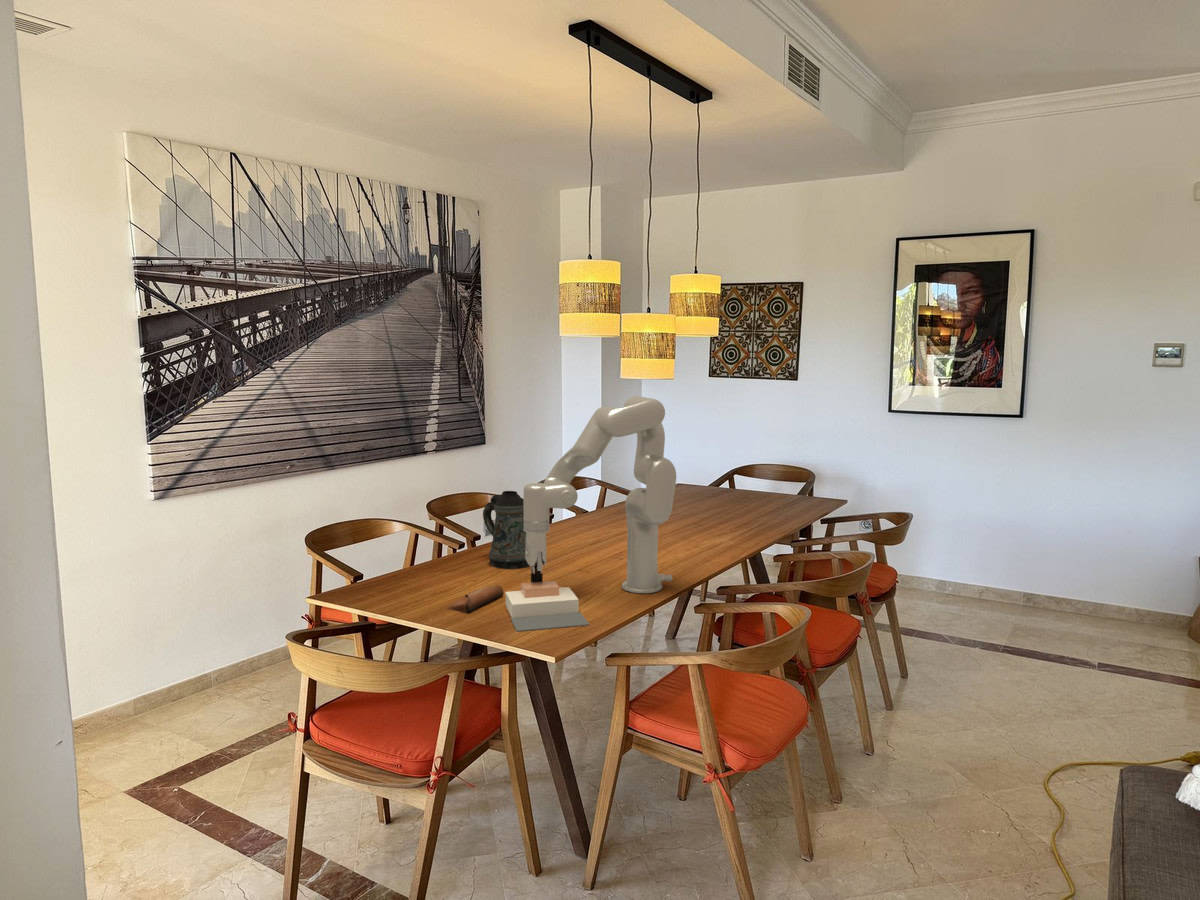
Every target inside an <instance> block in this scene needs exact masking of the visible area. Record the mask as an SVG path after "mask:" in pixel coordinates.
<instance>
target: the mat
mask: <svg viewBox="0 0 1200 900" xmlns="http://www.w3.org/2000/svg"><path fill="white" fill-rule="evenodd" d="M510 621H511V623H512V624H513V626H514V628H515V631H516V632H518V633H519V632H520V633H521V632H529V631H538V630H539V631H541V630H542V631H543V630H550V629H551V630H553V629H562V628H572V627H573V628H574V627H584V626H587V627H588V626H591V625H590V623H589V620H587V618H586V617H585V616H584V615H583V614H582V612H579V611H578V613H567V614H556V615H544V616H532V617H520V618H512V617H511V618H510Z"/></svg>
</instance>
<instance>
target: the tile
mask: <svg viewBox="0 0 1200 900" xmlns="http://www.w3.org/2000/svg"><path fill="white" fill-rule="evenodd" d="M559 588H560V586H559V585H558V583H557V582H556V580H551V581H550V580H549V581H543V582H534V583H531V582H523V583H521V585H520V591H521V592H522V594H523V596H524V597H525V598H531V597H544V596H557V595H559Z"/></svg>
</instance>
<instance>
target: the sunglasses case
mask: <svg viewBox="0 0 1200 900" xmlns="http://www.w3.org/2000/svg"><path fill="white" fill-rule="evenodd" d="M504 592H505V591H504V589H503V587H502V586H500V585H489V586H488V585H487V586H483V587H481V588H479V589H477V590H473V591H471V592H469V593H468V594H465V595H464V596H463V597H462V598H460V599H458V600H456V601H455V602H453V603H451V604H450V605H449V606H447V608H446V609H447V610H449V611H454V612H455V611H456V612H460V613H465V614H468V613H472V611H474V610H476V609H478V608H480V607H481V606H482V605H485V604H487V603H489V602H490V601H493V600H495V599H498V598H499V597H503V596H504Z"/></svg>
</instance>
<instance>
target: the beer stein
mask: <svg viewBox="0 0 1200 900" xmlns="http://www.w3.org/2000/svg"><path fill="white" fill-rule="evenodd" d="M492 511H494V512H495V519H494V521H493V519H492ZM482 517H483V522H484V525H485V527H486V529H487V530H488V532H489V533H490V535H491V536H492V541H491V547H490V549H489V553H488V559H489V564H490V566H492V567H493V568H496V569H504V570H517V569H518V570H520V569H526V568H531V566H530V565H529V564H528V563H527V561H526V559H525V542H526V532H524V497H521V496H520V494H518V491H515V490H503V491H502V493H501V494H495V495H493V496H492V497H491V499H490V501H489V502H487V503H486V504H485V505H484V508H483V511H482Z"/></svg>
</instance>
